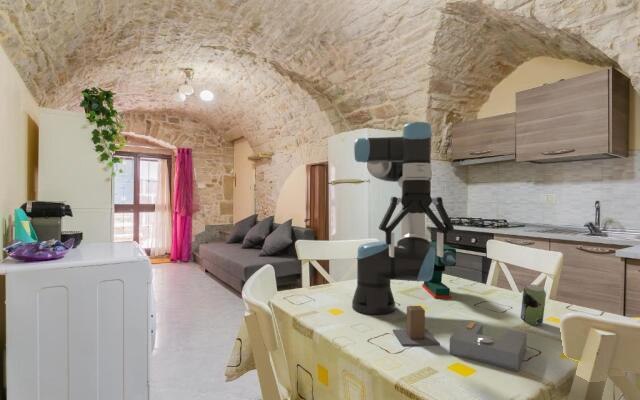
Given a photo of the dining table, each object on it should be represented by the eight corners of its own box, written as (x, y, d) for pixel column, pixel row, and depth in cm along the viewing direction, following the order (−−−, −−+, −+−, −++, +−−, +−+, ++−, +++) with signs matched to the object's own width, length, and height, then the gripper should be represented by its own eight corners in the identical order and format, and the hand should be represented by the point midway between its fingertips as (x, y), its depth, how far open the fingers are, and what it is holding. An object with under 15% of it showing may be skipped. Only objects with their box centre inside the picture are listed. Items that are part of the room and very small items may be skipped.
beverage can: (532, 319, 115) (533, 282, 115) (551, 327, 107) (551, 288, 107) (515, 320, 114) (515, 283, 113) (532, 328, 106) (533, 289, 106)
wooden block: (420, 333, 99) (420, 305, 99) (425, 339, 95) (425, 310, 95) (406, 333, 99) (406, 305, 99) (410, 339, 95) (410, 310, 95)
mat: (402, 347, 92) (402, 343, 92) (392, 333, 102) (392, 329, 102) (439, 347, 93) (439, 343, 93) (426, 332, 103) (426, 329, 103)
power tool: (466, 310, 124) (467, 253, 123) (446, 309, 124) (447, 253, 124) (438, 286, 156) (438, 241, 155) (422, 286, 156) (422, 241, 155)
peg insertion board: (518, 372, 79) (518, 351, 79) (449, 353, 88) (449, 335, 88) (526, 348, 91) (526, 331, 91) (465, 335, 100) (465, 318, 100)
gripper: (374, 178, 93) (373, 258, 93) (467, 179, 94) (466, 258, 94) (369, 179, 100) (368, 254, 101) (454, 180, 101) (454, 253, 102)
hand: (415, 256), depth 98 cm, fingers open, 13 cm apart
